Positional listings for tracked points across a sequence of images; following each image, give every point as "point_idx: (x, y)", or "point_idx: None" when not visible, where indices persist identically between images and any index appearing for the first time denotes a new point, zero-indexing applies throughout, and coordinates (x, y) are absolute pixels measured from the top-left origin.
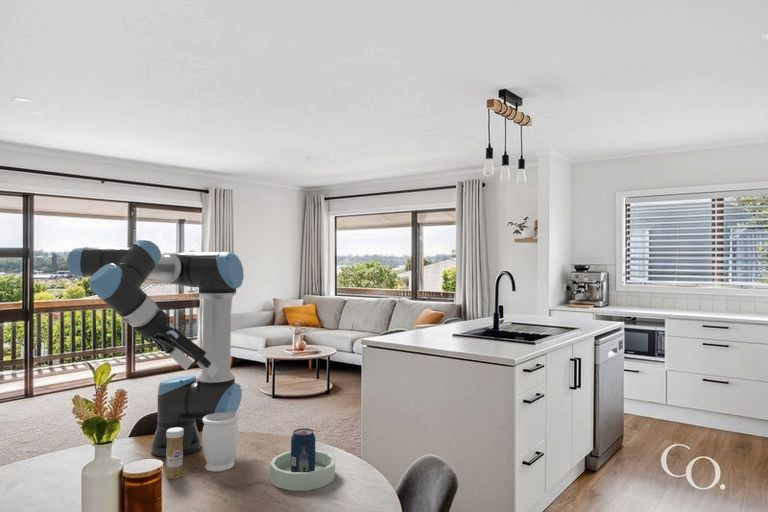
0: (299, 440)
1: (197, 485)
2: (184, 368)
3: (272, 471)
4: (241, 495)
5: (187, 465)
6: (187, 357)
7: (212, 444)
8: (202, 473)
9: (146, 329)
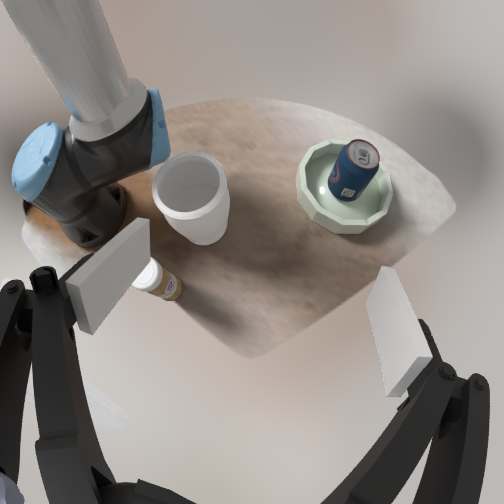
0: (370, 175)
1: (229, 292)
2: (145, 266)
3: (326, 220)
4: (316, 281)
5: (154, 246)
6: (130, 238)
7: (207, 233)
8: (200, 256)
9: None
